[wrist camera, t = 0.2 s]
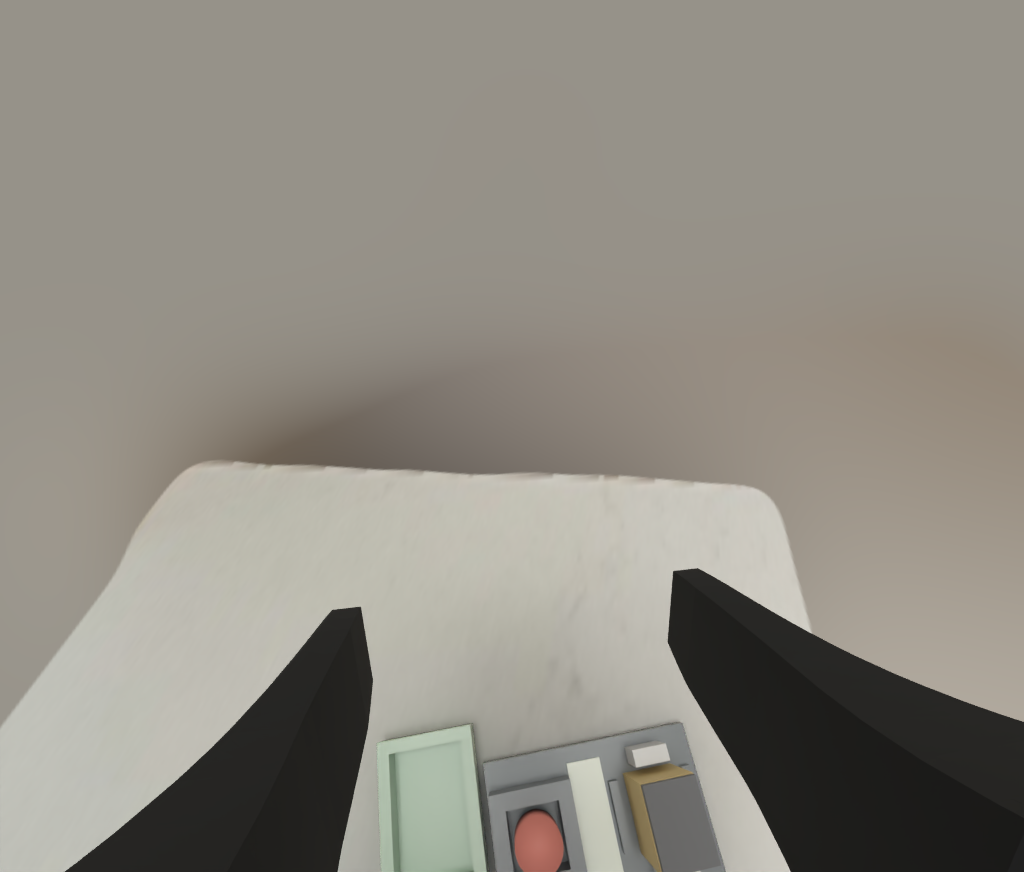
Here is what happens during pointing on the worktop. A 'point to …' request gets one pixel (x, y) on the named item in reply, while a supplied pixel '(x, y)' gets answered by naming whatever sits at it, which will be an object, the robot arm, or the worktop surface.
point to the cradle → (583, 797)
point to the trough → (431, 803)
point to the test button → (538, 842)
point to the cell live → (671, 819)
